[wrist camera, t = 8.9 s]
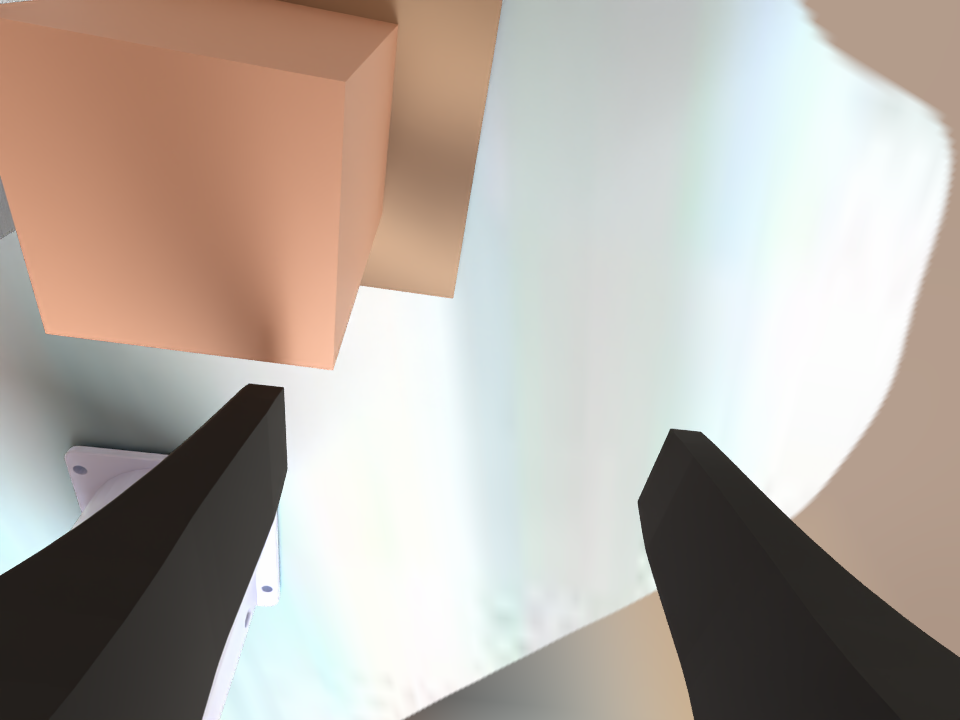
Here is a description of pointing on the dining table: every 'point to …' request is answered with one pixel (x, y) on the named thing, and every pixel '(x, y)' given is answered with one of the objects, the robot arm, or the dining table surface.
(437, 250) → the walnut pad
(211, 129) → the terracotta block
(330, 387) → the dining table surface
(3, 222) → the square socket
